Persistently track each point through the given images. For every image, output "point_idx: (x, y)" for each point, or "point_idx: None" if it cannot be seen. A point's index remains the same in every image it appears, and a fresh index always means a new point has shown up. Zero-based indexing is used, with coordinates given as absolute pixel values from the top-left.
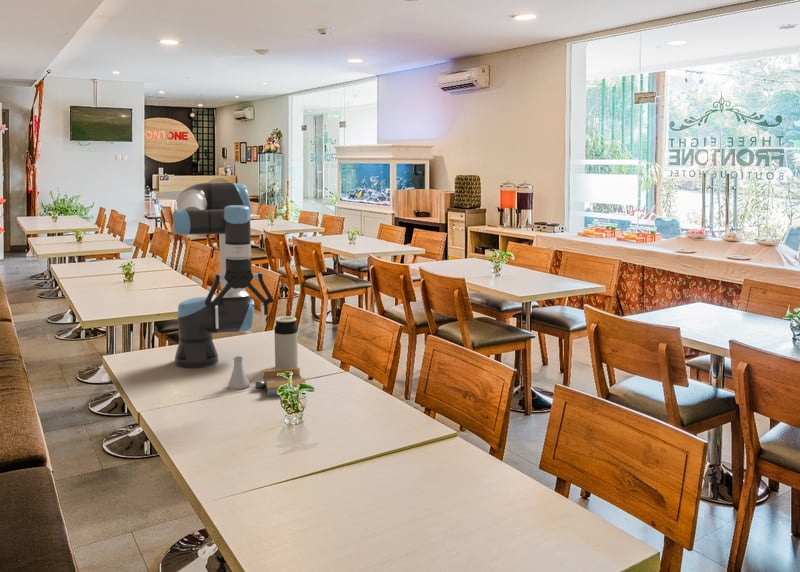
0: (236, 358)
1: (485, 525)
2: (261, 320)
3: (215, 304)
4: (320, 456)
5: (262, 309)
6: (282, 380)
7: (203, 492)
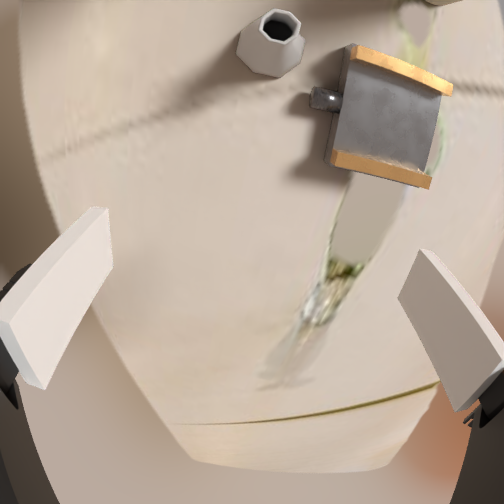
0: (275, 14)
1: (342, 460)
2: (422, 292)
3: (13, 403)
4: (298, 401)
5: (447, 384)
6: (379, 167)
7: (163, 415)
